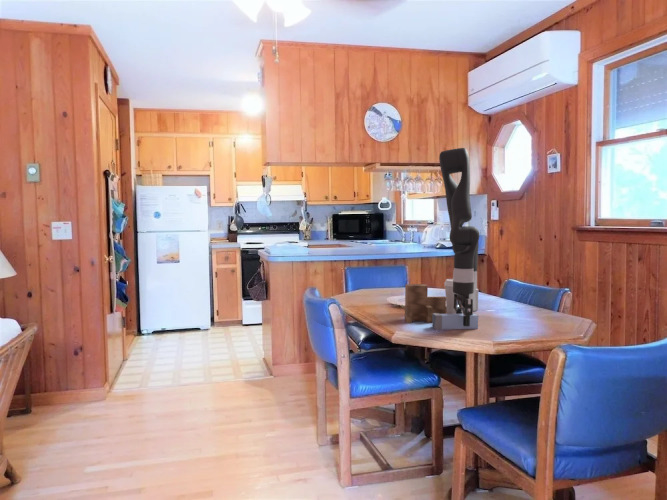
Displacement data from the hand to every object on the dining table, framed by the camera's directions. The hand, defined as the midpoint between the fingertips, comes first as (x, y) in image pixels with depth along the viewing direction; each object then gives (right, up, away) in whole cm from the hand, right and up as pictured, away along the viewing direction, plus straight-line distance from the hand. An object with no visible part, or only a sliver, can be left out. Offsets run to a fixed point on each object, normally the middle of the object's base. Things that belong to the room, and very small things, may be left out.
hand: (462, 323), depth 185 cm
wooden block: (-11, -1, +12) cm, 17 cm away
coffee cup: (+3, 0, +21) cm, 22 cm away
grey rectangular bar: (-3, -2, 0) cm, 3 cm away
